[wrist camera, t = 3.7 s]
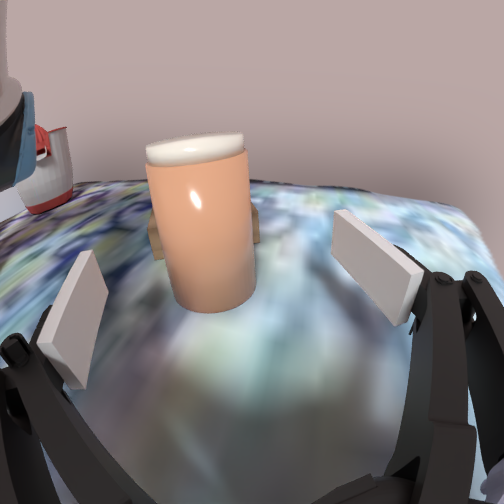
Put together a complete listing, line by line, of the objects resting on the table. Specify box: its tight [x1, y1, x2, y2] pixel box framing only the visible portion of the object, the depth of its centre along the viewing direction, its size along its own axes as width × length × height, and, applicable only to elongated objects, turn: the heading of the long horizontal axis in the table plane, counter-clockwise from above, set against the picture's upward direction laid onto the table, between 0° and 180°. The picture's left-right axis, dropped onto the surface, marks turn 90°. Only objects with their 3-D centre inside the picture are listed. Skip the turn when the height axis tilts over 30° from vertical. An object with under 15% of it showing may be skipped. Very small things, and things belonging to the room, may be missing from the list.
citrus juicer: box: [16, 124, 73, 214], centre depth 47 cm, size 16×17×20 cm
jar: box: [145, 132, 256, 313], centre depth 20 cm, size 7×7×12 cm
